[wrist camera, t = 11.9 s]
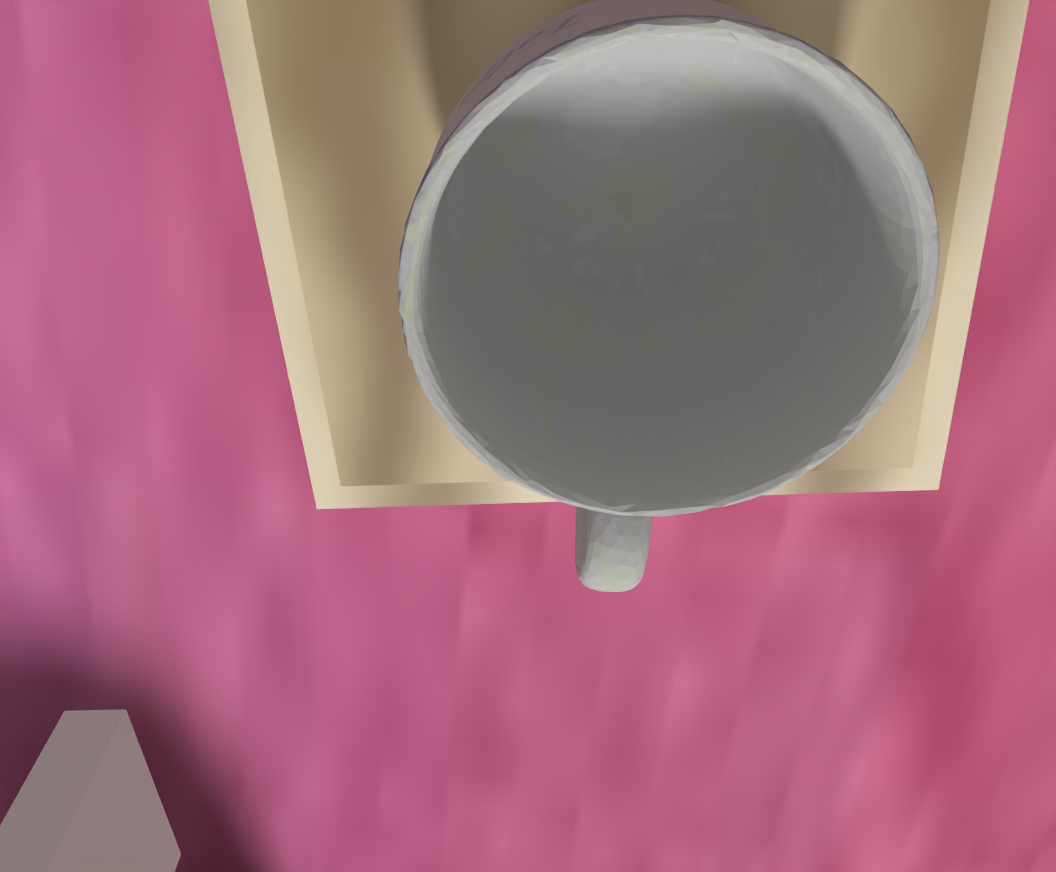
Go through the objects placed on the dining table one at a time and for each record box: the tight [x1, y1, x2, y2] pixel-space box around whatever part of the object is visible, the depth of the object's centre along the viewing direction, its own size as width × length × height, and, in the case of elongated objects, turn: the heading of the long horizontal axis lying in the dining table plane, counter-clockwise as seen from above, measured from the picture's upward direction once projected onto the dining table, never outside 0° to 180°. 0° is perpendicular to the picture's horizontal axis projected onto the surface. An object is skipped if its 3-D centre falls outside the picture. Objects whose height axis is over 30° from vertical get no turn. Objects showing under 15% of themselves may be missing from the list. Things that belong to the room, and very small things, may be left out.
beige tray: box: [208, 0, 1029, 509], centre depth 29 cm, size 20×18×4 cm
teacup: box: [397, 0, 940, 592], centre depth 24 cm, size 14×11×8 cm
